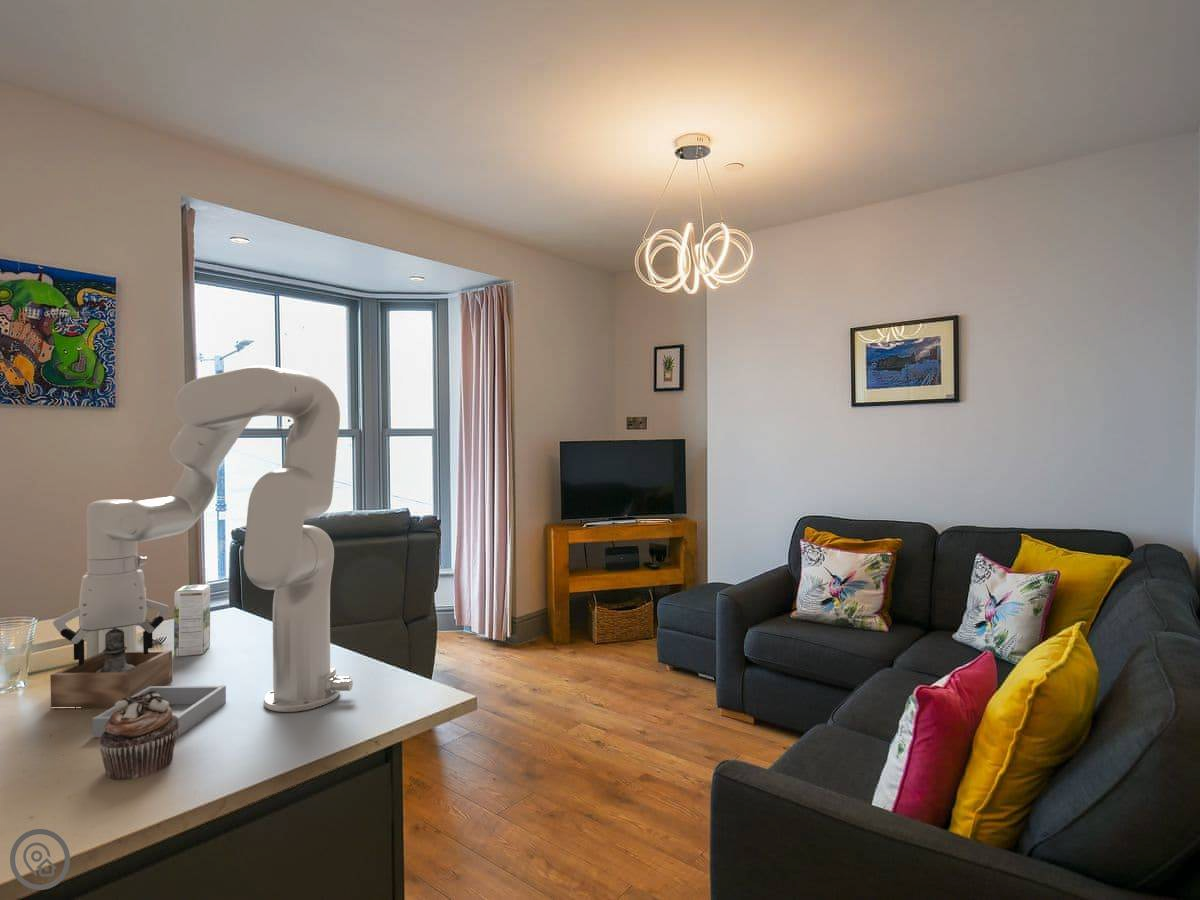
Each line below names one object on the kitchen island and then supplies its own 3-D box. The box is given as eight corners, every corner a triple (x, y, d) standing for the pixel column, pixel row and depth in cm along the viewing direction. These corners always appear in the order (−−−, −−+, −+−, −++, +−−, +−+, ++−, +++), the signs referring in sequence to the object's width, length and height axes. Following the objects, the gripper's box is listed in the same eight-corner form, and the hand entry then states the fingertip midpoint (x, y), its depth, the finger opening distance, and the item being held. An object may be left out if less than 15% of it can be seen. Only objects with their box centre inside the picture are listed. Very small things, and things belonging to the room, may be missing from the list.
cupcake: (86, 771, 93) (84, 702, 93) (159, 744, 102) (158, 680, 102) (118, 790, 89) (117, 717, 88) (193, 759, 97) (192, 693, 97)
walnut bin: (172, 680, 128) (172, 650, 128) (125, 708, 115) (125, 674, 115) (105, 681, 128) (105, 650, 128) (50, 708, 115) (50, 674, 115)
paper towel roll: (143, 671, 134) (142, 567, 133) (115, 681, 128) (113, 573, 127) (116, 668, 135) (114, 565, 135) (86, 678, 130) (85, 571, 129)
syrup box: (181, 649, 148) (180, 585, 147) (211, 646, 149) (210, 583, 149) (173, 657, 142) (172, 591, 142) (204, 654, 144) (203, 589, 144)
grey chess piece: (113, 696, 118) (113, 630, 118) (87, 693, 119) (86, 628, 119) (142, 684, 124) (142, 621, 124) (116, 681, 125) (116, 619, 125)
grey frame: (225, 702, 118) (225, 685, 118) (178, 736, 104) (178, 717, 104) (149, 702, 118) (149, 686, 118) (92, 737, 104) (92, 718, 104)
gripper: (167, 558, 129) (168, 644, 130) (54, 568, 119) (55, 661, 120) (169, 564, 123) (171, 654, 124) (50, 575, 113) (52, 673, 113)
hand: (114, 657), depth 122 cm, fingers open, 9 cm apart
